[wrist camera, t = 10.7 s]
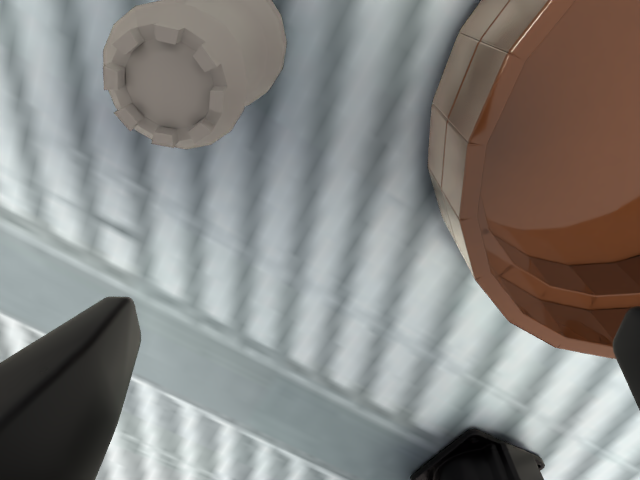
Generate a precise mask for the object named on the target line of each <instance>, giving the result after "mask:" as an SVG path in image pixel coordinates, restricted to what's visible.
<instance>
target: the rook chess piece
mask: <svg viewBox="0 0 640 480" xmlns="http://www.w3.org/2000/svg"><path fill="white" fill-rule="evenodd" d="M286 45H287V41H286V36H285V31H284V26H283V22H282V17H281V15H280V13H279V11H278V10H277V8H276V7H275V5H274V3H273V2H272V0H161V1H156V2H152V3H147V4H143V5H138V6H135V7H134V8H132V9H131V10H130V11H129V12H128V13H127V14H125V15H124V16H123V17H122V18H121V19H119V20H118V21H117V22H116V23H115V24H114V25H113V27H112V30H111V32H110V35H109V37H108V40H107V42H106V45H105V47H104V49H103V65H104V66H103V77H104V90H108V91H109V93H110V96H111V98H112V100H113V103H114V105H115V107H116V109H117V111H116V112H114V114H115V115H116V116H117V117H118V118H119V119H120V121H121V122H122V123H123V124H124V125H125V126H126V127H127V128H128V129H129V131H132V130H133V129H135V130H136V131H138V132H140V133H141V134H143V135H145V136H146V137H148V138H150V139H152V143H151V144H156V145H161V146H166V147H171V148H174V147H176V148H181V149H191V148H196V147H202V146H207V145H211V144H213V143H214V142H216V141H217V140H219V139H220V138H222V137H223V136H224V135H226V134H227V133H229V132H230V131H232V129H233V127H234V125H235V124H236V122H237V120H238V119H239V117H240V115H241V114H242V112H243V110H244V108H245V106H248V105H250V104H251V103H253V102H254V101H255V100H257V99H258V98H260V97H261V96H263V95H264V94H265V93H267V92H268V90H269V89H270V88H271V87H272V85H273V83H274V82H275V80H276V78H277V77H278V75H279V73H280V72H281V70H282V69H283V64H284V58H285V51H286Z"/></svg>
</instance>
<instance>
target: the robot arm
mask: <svg viewBox="0 0 640 480" xmlns="http://www.w3.org/2000/svg"><path fill="white" fill-rule="evenodd" d="M140 343H141V331H140V326H139V322H138V317H137V313H136V309H135V304H134V302H133V300H132V299H131V298H129V297H106V298H104V299H103V300H101V301H99V302H98V303H96V304H94V305H93V306H91V307H90V308H88V309H86V310H85V311H83V312H82V313H80V314H78V315H77V316H75V317H74V318H72V319H70V320H69V321H67V322H65V323H64V324H62V325H61V326H59V327H57V328H56V329H54V330H53V331H51V332H49V333H48V334H46V335H45V336H43V337H41V338H40V339H38V340H36V341H35V342H33V343H32V344H30V345H28V346H27V347H25V348H24V349H22V350H20V351H19V352H17V353H15V354H14V355H12V356H11V357H9V358H7V359H6V360H4V361H3V362H1V363H0V480H95V478H96V476H97V474H98V471H99V469H100V466H101V464H102V461H103V459H104V456H105V454H106V452H107V449H108V447H109V444H110V442H111V439H112V437H113V434H114V432H115V429H116V426H117V424H118V420H119V417H120V414H121V411H122V407H123V404H124V400H125V397H126V393H127V390H128V386H129V383H130V379H131V376H132V372H133V368H134V365H135V361H136V358H137V354H138V351H139V347H140ZM613 351H614V354H615V357H616V359H617V361H618V363H619V365H620V368H621V370H622V372H623V374H624V377H625V379H626V381H627V383H628V385H629V388H630V390H631V392H632V394H633V396H634V399H635V401H636V403H637V405H638V408H639V410H640V306H635V307H632V308H630V309H629V310H628V311H627V312H626V314H625V316H624V318H623V320H622V322H621V325H620V327H619V329H618V331H617V333H616V335H615V337H614V340H613ZM544 466H545V465H544V463H543V460H542V458H540V457H538V456H536V455H534V454H532V453H529V452H527V451H525V450H523V449H520V448H518V447H516V446H514V445H511V444H509V443H507V442H505V441H502V440H500V439H498V438H496V437H493V436H491V435H489V434H487V433H484V432H482V431H480V430H477V429H471V430H468V431H466V432H465V433H464V434H463V435H461V436H460V437H459V438H458V439H456V440H455V441H454V442H453V443H452V444H450V445H449V446H448V447H447V448H445V449H444V450H443V451H442V452H440V453H439V454H438V455H437V456H435V457H434V458H433V459H432V460H430V461H429V462H428V463H427V464H425V465H424V466H423V467H422V468H420V469H419V470H418V471H417V472H415V473H414V474H413V475H412V476H411V477H410V480H544V479H543V477H542V474H541V472H540V470H542V469H543V468H544Z"/></svg>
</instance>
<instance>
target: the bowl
mask: <svg viewBox="0 0 640 480" xmlns="http://www.w3.org/2000/svg"><path fill="white" fill-rule="evenodd" d="M459 32H460V33H459V34H458V35H457V38H456V40H455V43H454V46H453V48H452V51H451V54H450V56H449V59H448V62H447V64H446V67H445V69H444V72H443V75H442V77H441V80H440V83H439V85H438V88H437V91H436V93H435V96H434V98H433V101H432V102H433V104H432V106H431V120H430V135H429V150H428V171H429V174H430V178H431V181H432V185H433V188H434V192H435V195H436V199H437V202H438V206H439V209H440V213H441V216H442V218H443V220H444V222H445V224H446V226H447V228H448V229H449V231H450V233H451V235H452V237H453V239H454V241H455V243H456V245H457V247H458V248H459V250H460V252H461V254H462V256H463V258H464V260H465V262H466V264H467V265H468V267H469V269H470V271H471V273H472V275H473V277H474V279H475V280H476V282H477V283H478V284H479V285H480V287H481V288H482V289H483V290H484V292H485V293H486V294H487V295H488V297H489V298H490V299H491V300H492V302H493V303H494V304H495V305H496V307H497V308H498V309H499V310H500V312H501V313H502V314H503V315H504V317H505V318H506V319H507V320H508V321H509V322H510V323H512V324H514V325H516V326H517V327H519V328H521V329H523V330H525V331H526V332H528V333H530V334H532V335H534V336H535V337H537V338H539V339H541V340H543V341H545V342H546V343H548V344H550V345H552V346H554V347H555V348H559V349H565V350H570V351H575V352H580V353H585V354H591V355H596V356H601V357H606V358H612V359H613V358H614V359H616V357H615V354H614V351H613V340H614V337H615V335H616V333H617V331H618V329H619V327H620V325H621V322H622V320H623V318H624V316H625V314H626V312H627V311H628V310H629V309H630V308H632V307H635V306H640V0H481V1H480V3H479V4H478V6H477V7H476V8H475V10H474V11H473V13H472V14H471V15H470V17H469V18H468V19H467V21H466V22H465V24H464V25H463V26H462V28H461V29H460V31H459Z"/></svg>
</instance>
